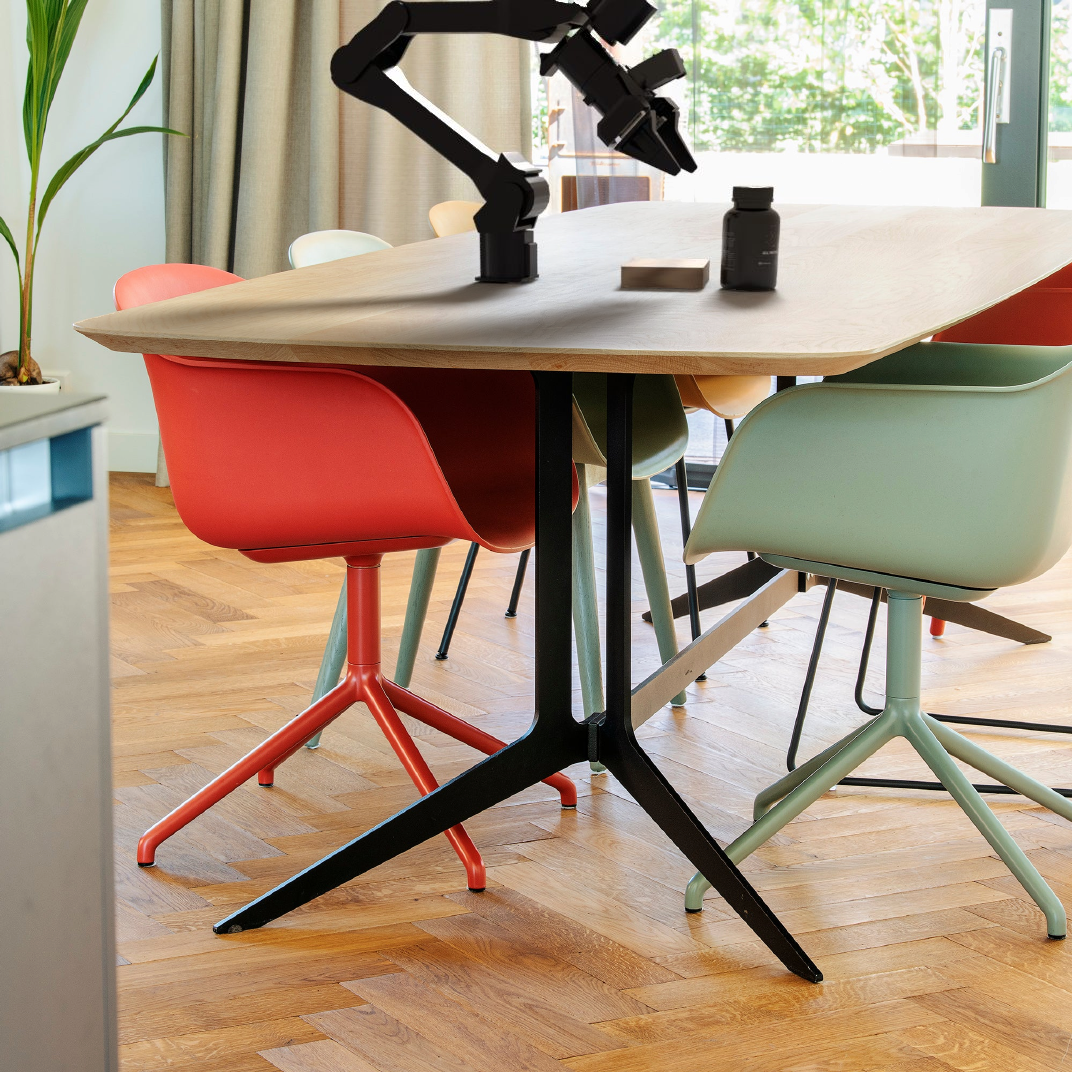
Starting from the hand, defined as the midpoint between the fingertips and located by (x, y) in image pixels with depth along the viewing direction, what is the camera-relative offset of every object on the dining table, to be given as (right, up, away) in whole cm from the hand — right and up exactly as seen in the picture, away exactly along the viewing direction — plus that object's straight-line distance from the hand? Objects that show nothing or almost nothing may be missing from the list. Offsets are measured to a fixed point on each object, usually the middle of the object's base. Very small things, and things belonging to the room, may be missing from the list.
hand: (686, 172), depth 156 cm
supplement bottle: (+8, -14, +2) cm, 16 cm away
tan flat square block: (-2, -12, +7) cm, 14 cm away
